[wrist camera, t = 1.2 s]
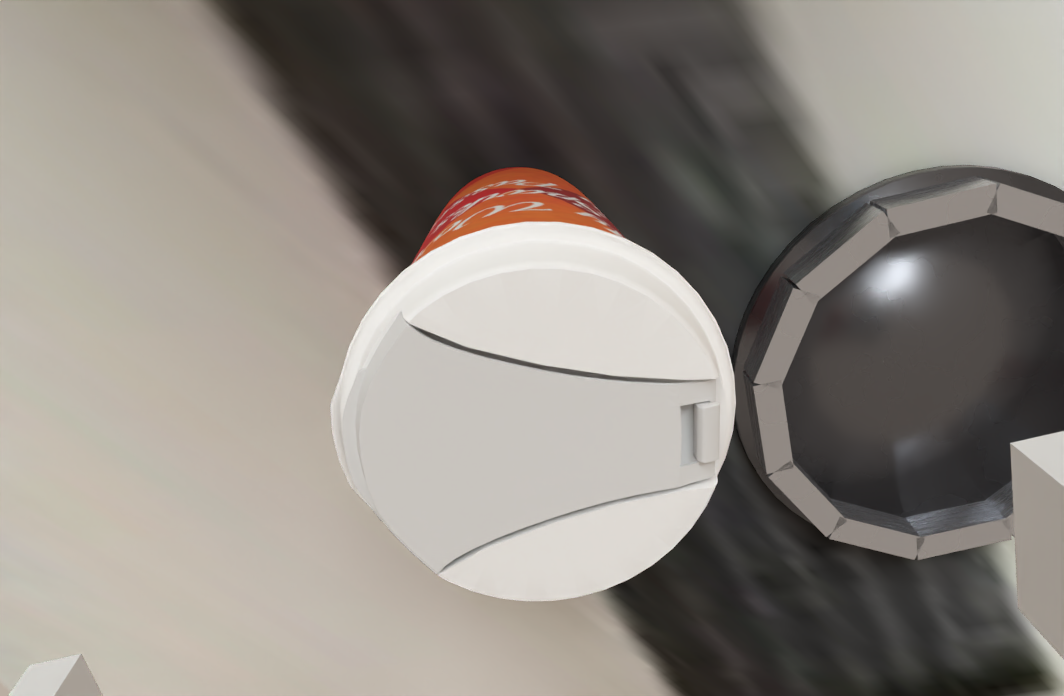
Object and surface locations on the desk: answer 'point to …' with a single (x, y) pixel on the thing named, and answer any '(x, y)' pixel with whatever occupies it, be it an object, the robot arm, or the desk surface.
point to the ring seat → (908, 358)
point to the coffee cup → (534, 396)
